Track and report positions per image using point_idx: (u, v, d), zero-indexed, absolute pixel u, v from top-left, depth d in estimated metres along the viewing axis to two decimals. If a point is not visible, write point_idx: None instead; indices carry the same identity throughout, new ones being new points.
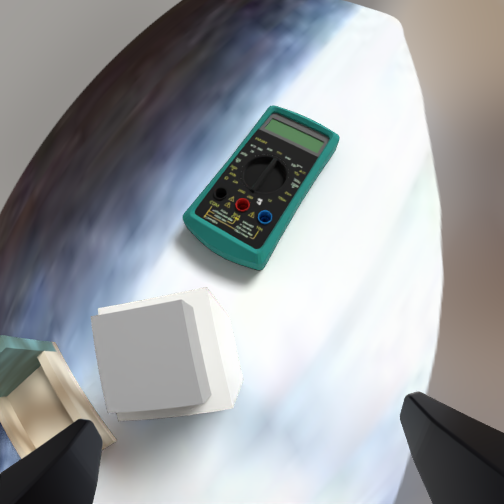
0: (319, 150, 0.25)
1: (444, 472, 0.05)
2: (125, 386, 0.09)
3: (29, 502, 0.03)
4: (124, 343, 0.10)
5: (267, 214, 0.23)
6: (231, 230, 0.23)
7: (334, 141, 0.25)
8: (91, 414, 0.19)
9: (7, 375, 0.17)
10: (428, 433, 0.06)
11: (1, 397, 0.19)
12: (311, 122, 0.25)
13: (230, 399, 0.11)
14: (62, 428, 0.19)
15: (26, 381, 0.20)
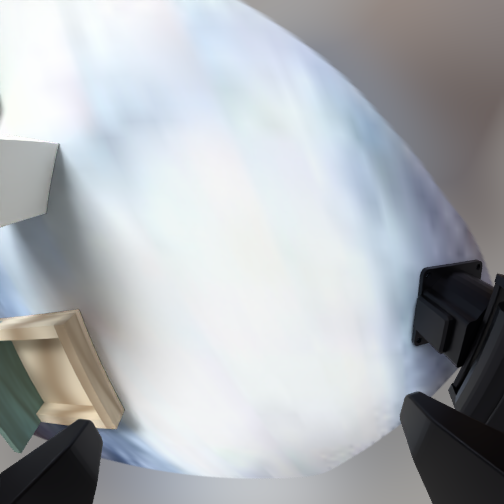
0: None
1: (444, 472, 0.05)
2: None
3: (29, 502, 0.03)
4: None
5: None
6: None
7: None
8: (46, 317, 0.19)
9: (4, 381, 0.17)
10: (428, 433, 0.06)
11: (40, 408, 0.21)
12: None
13: None
14: (63, 360, 0.20)
15: (27, 370, 0.21)
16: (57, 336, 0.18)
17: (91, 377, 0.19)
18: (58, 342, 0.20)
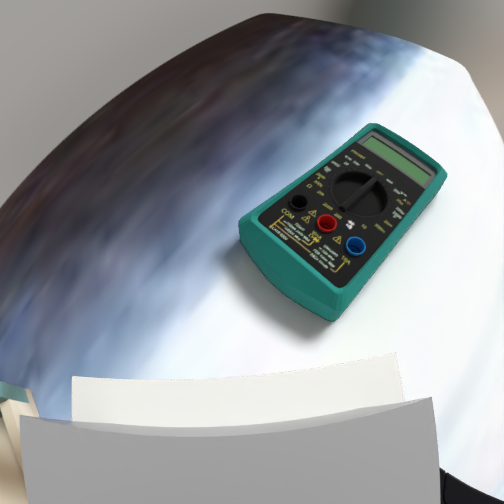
0: (426, 182, 0.18)
1: None
2: None
3: None
4: None
5: (357, 244, 0.16)
6: (305, 253, 0.15)
7: (442, 176, 0.18)
8: None
9: None
10: None
11: None
12: (417, 149, 0.19)
13: None
14: (26, 502, 0.09)
15: None
16: None
17: None
18: None
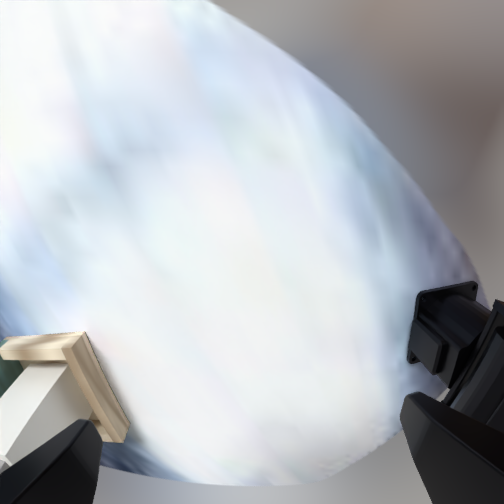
0: None
1: (444, 472, 0.05)
2: None
3: (29, 502, 0.03)
4: None
5: None
6: None
7: None
8: (53, 338, 0.20)
9: None
10: (428, 433, 0.06)
11: None
12: None
13: (2, 454, 0.10)
14: None
15: None
16: (65, 358, 0.18)
17: (98, 396, 0.20)
18: (65, 361, 0.20)
